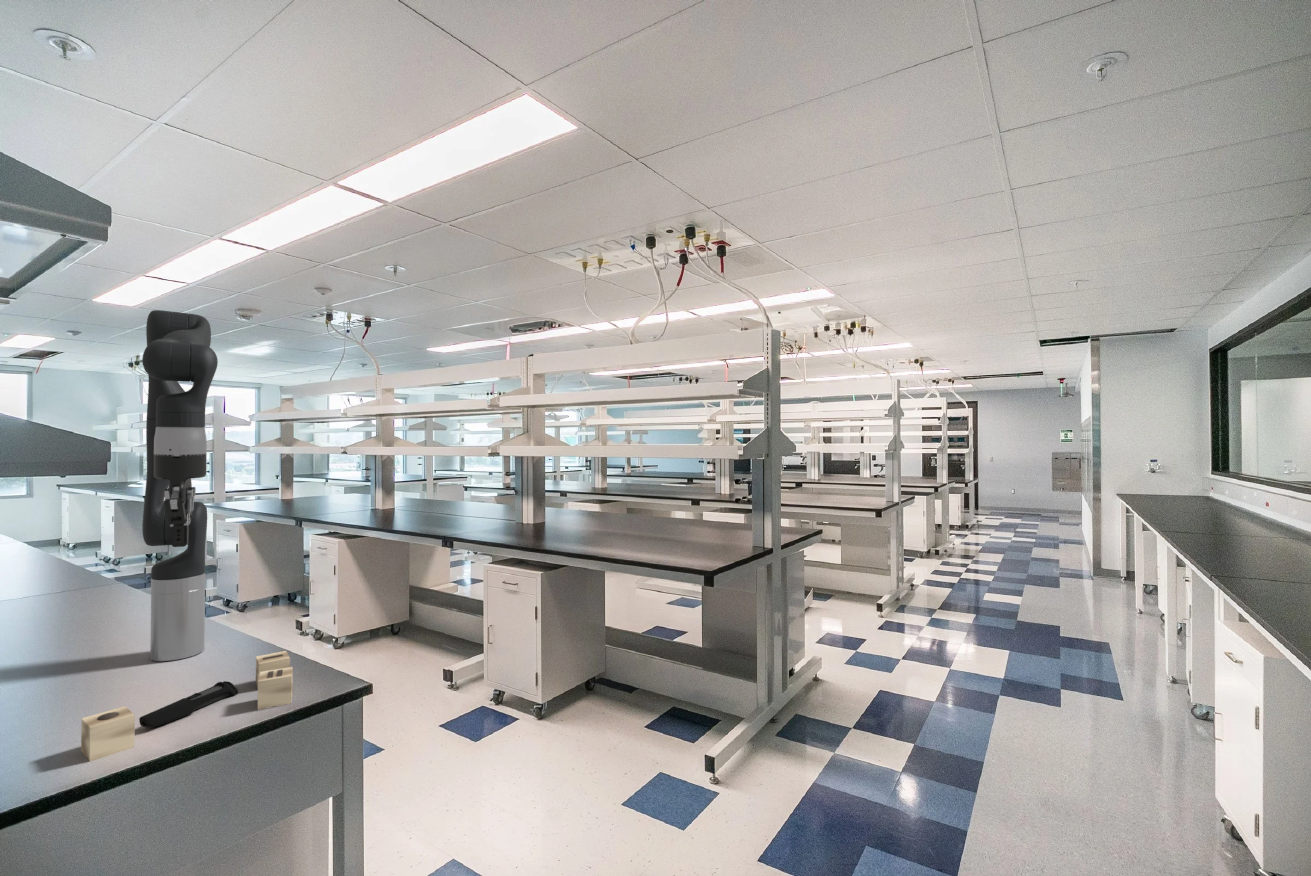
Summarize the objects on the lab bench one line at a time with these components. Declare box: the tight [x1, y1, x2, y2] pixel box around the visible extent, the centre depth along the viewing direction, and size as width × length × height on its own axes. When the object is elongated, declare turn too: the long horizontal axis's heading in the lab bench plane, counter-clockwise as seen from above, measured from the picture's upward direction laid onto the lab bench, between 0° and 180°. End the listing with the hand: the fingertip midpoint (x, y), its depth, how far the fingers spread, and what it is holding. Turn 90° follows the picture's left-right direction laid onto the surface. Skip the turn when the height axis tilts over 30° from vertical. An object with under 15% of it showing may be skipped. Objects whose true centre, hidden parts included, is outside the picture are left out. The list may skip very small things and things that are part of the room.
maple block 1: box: [80, 705, 136, 762], centre depth 89 cm, size 5×5×5 cm
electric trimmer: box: [138, 680, 239, 729], centre depth 101 cm, size 4×16×3 cm, turn 166°
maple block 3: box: [257, 666, 294, 711], centre depth 105 cm, size 5×5×5 cm
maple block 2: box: [255, 650, 291, 688], centre depth 114 cm, size 5×5×5 cm
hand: (180, 545), depth 108 cm, fingers closed
